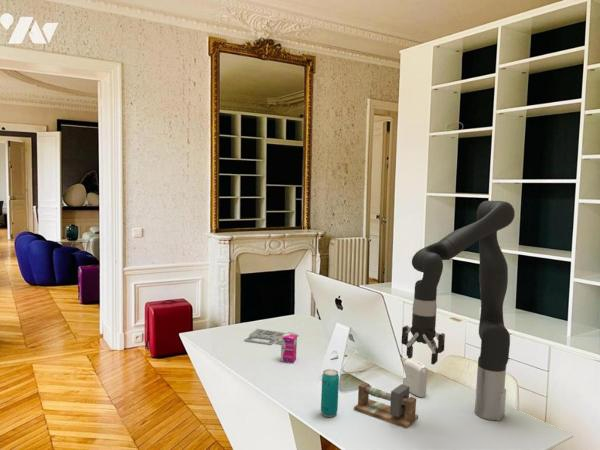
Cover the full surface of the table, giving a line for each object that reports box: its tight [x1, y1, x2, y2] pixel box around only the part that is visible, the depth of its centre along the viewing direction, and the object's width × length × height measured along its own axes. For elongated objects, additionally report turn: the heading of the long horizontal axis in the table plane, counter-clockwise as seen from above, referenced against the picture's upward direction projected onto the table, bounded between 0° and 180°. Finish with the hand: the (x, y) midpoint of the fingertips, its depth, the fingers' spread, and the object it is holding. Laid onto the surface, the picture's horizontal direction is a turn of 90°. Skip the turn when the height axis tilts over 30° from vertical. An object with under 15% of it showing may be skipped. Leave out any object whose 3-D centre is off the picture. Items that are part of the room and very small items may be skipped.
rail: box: [353, 382, 419, 429], centre depth 172 cm, size 20×9×8 cm, turn 53°
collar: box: [389, 383, 410, 417], centre depth 169 cm, size 3×8×8 cm, turn 143°
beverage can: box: [320, 368, 340, 418], centre depth 170 cm, size 6×6×15 cm
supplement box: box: [280, 334, 298, 364], centre depth 220 cm, size 6×6×12 cm
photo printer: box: [402, 358, 428, 398], centre depth 191 cm, size 10×4×12 cm, turn 29°
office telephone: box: [244, 328, 300, 346], centre depth 251 cm, size 23×3×20 cm
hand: (421, 360), depth 163 cm, fingers open, 7 cm apart
